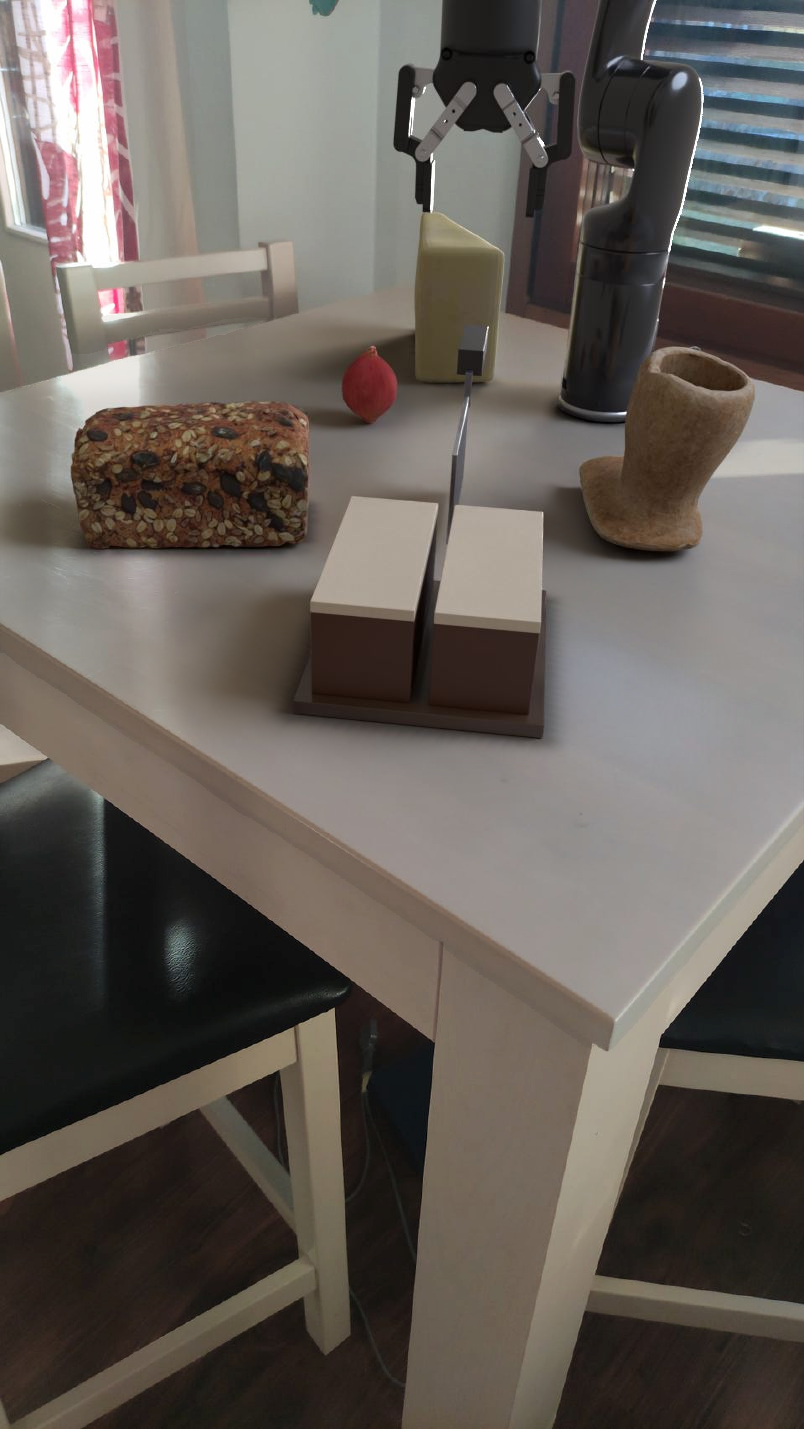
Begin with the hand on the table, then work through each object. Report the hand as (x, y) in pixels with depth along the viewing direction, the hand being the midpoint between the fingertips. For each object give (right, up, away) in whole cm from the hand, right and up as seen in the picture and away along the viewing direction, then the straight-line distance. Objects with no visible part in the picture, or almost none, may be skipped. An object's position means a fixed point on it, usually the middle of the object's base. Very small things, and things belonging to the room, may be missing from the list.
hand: (478, 213), depth 88 cm
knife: (-1, -21, +7) cm, 23 cm away
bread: (-24, -26, +2) cm, 35 cm away
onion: (-10, -11, +24) cm, 28 cm away
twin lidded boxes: (-4, -37, -14) cm, 40 cm away
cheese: (-2, +3, +44) cm, 44 cm away
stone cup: (+15, -25, +6) cm, 30 cm away
